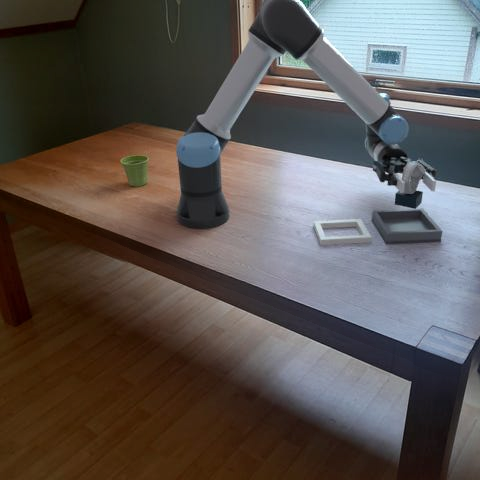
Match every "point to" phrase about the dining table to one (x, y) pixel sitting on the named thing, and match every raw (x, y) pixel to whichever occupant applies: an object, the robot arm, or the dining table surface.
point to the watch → (411, 186)
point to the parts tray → (406, 226)
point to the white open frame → (324, 240)
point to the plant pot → (136, 169)
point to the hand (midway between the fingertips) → (418, 186)
